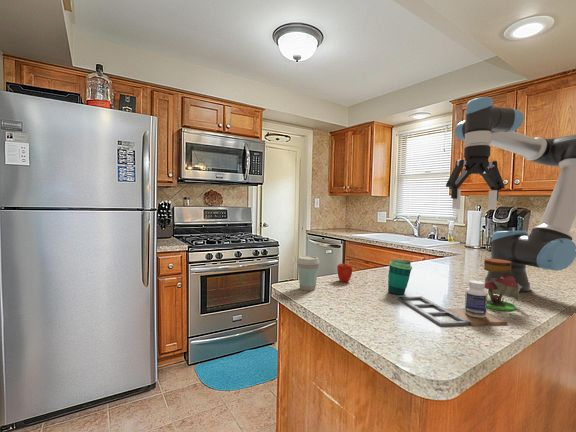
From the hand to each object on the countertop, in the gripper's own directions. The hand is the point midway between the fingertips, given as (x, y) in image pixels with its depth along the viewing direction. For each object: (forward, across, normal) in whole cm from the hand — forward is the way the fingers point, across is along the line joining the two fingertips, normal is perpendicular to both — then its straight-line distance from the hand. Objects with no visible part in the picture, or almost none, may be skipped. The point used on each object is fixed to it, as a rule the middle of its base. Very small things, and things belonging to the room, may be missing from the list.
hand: (474, 209), depth 103 cm
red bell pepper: (+32, +35, -29) cm, 56 cm away
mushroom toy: (+32, -6, +5) cm, 33 cm away
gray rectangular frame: (+32, +20, +8) cm, 38 cm away
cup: (+32, +20, -11) cm, 39 cm away
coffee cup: (+32, +53, -19) cm, 65 cm away
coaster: (+32, +10, +14) cm, 36 cm away
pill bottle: (+31, +10, +14) cm, 35 cm away
